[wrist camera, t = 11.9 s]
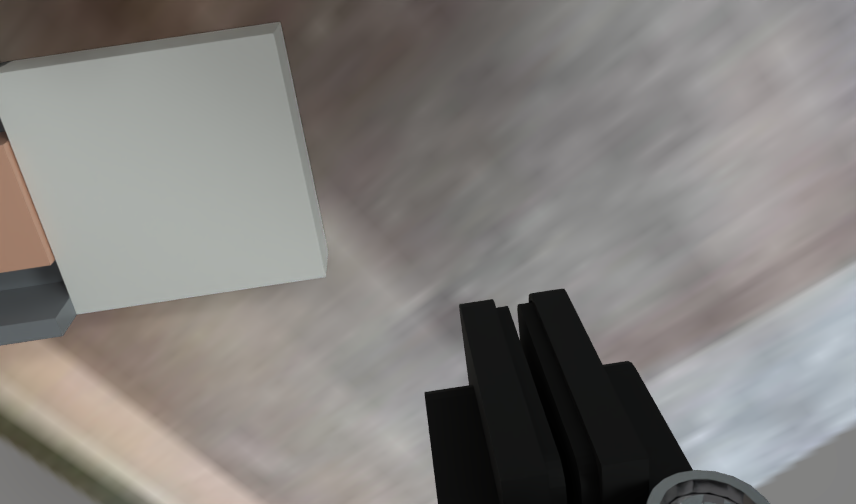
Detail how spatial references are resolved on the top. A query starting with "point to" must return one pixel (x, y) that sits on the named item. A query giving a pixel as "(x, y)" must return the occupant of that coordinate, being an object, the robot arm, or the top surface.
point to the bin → (33, 302)
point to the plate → (167, 166)
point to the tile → (19, 218)
